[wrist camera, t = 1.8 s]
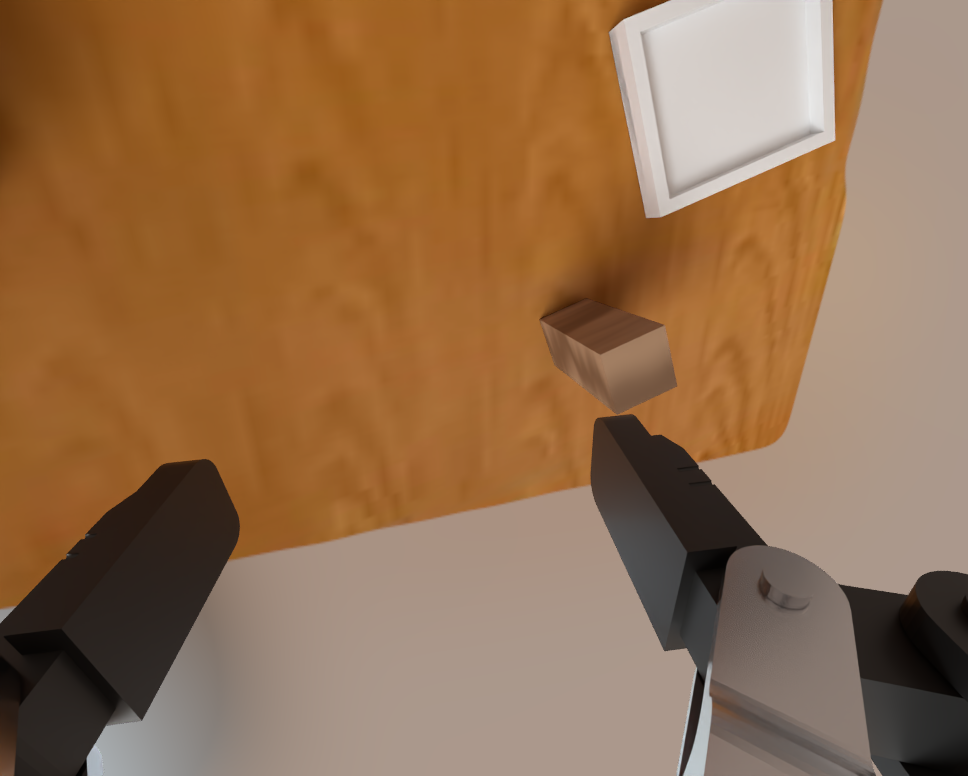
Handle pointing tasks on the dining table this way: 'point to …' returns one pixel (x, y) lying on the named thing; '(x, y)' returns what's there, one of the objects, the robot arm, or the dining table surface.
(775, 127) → the tray
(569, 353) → the brown wooden block
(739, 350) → the dining table surface
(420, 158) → the dining table surface
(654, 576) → the robot arm
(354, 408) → the dining table surface
